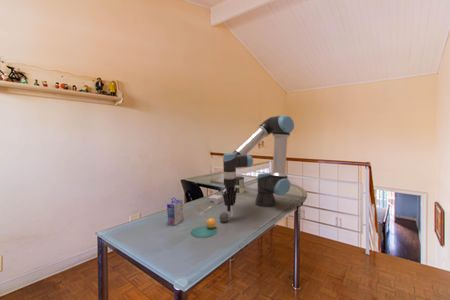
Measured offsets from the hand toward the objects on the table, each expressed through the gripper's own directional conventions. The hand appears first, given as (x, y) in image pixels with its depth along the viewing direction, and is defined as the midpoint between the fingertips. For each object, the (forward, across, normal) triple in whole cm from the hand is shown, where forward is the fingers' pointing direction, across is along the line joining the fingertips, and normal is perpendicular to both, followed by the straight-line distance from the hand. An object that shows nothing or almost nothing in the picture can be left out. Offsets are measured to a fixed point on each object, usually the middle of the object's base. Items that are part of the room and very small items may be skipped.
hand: (230, 215), depth 135 cm
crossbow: (+3, -1, -23) cm, 23 cm away
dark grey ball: (-1, +6, 0) cm, 6 cm away
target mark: (+2, +23, 0) cm, 23 cm away
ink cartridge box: (+2, +24, -23) cm, 33 cm away
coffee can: (+2, -54, -33) cm, 64 cm away
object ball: (-1, +17, 0) cm, 17 cm away
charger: (+2, -23, -32) cm, 40 cm away
